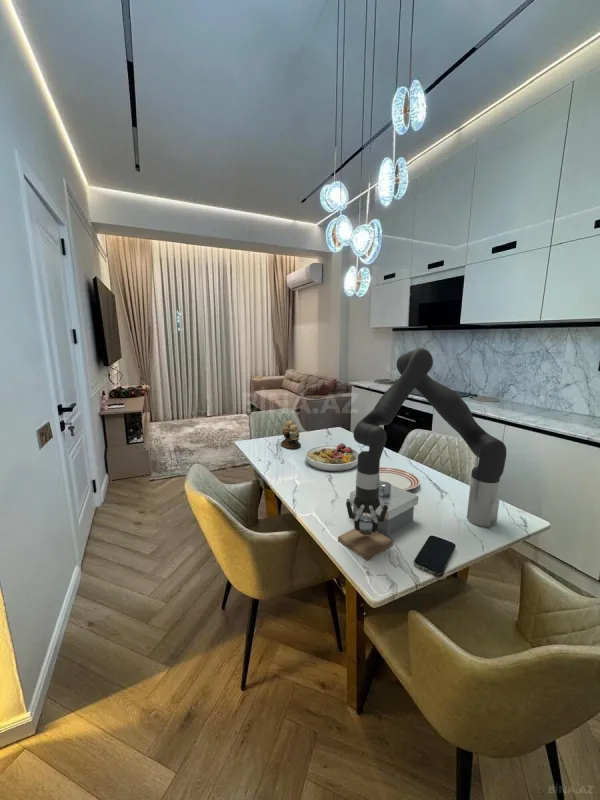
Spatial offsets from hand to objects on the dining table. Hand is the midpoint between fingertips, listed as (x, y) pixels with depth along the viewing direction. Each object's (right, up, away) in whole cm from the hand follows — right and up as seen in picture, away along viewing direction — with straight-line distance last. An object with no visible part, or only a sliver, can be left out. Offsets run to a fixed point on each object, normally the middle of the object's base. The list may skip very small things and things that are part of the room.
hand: (365, 530), depth 111 cm
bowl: (-4, +9, +73) cm, 73 cm away
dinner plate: (+21, +4, +47) cm, 51 cm away
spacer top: (0, 0, 0) cm, 0 cm away
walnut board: (0, -5, +1) cm, 5 cm away
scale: (+10, -2, +16) cm, 19 cm away
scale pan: (+10, +5, +14) cm, 18 cm away
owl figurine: (-28, +14, +101) cm, 105 cm away
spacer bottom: (+10, +8, +14) cm, 19 cm away
